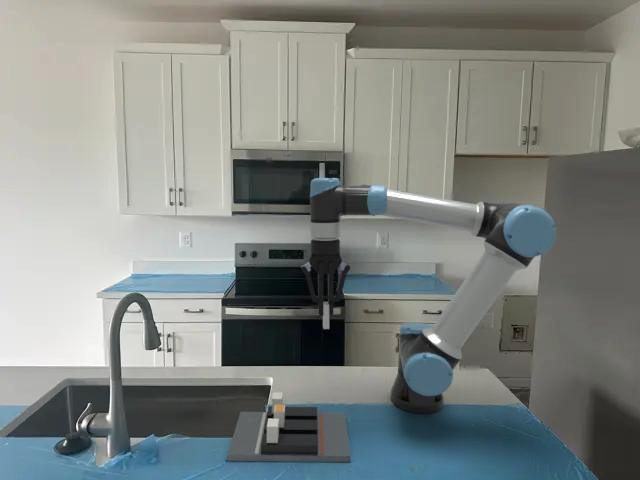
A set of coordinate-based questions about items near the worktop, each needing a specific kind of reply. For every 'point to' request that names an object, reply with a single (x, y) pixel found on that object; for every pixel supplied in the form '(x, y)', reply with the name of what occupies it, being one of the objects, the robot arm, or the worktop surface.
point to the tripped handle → (280, 414)
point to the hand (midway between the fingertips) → (326, 327)
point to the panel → (251, 435)
